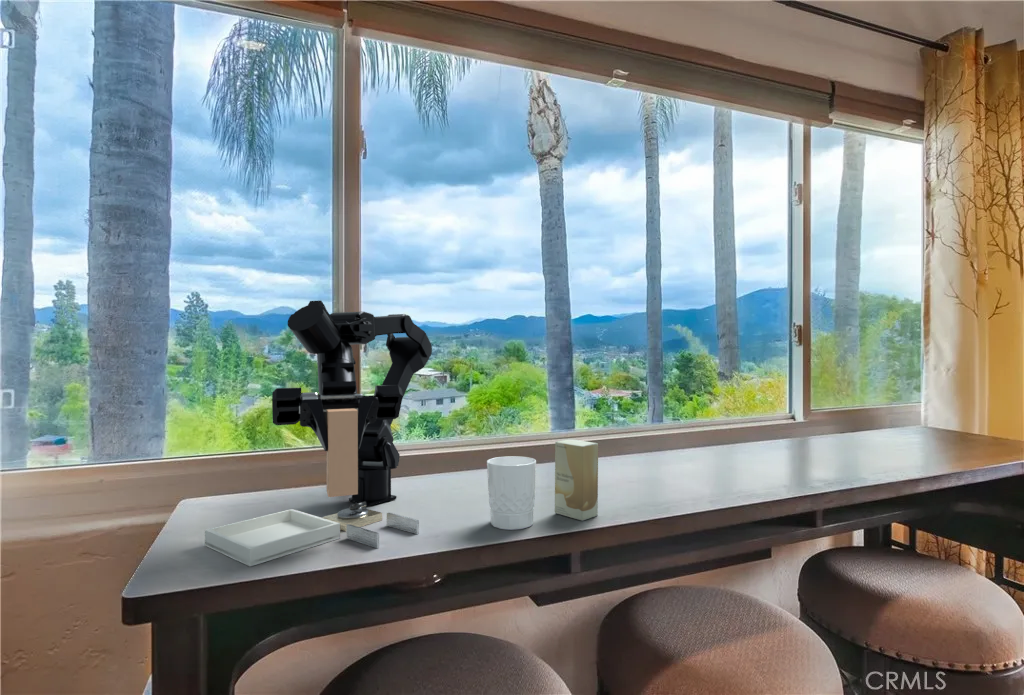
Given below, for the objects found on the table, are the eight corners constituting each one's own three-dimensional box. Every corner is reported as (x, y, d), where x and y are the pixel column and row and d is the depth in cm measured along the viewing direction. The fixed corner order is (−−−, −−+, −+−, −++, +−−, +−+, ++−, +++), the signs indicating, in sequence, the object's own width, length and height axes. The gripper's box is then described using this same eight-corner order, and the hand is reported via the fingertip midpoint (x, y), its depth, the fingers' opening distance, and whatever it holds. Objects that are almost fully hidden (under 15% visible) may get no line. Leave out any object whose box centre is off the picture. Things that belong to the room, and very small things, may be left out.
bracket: (359, 514, 89) (359, 494, 89) (424, 531, 80) (424, 509, 80) (312, 527, 82) (312, 506, 82) (376, 548, 73) (376, 524, 73)
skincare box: (553, 513, 88) (552, 441, 89) (570, 508, 91) (569, 438, 92) (584, 521, 84) (582, 445, 84) (600, 516, 87) (599, 442, 87)
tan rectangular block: (326, 491, 77) (326, 409, 77) (354, 488, 79) (354, 408, 79) (328, 497, 73) (328, 411, 74) (357, 494, 75) (357, 410, 75)
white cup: (547, 523, 83) (546, 460, 83) (511, 535, 78) (510, 467, 78) (512, 513, 89) (511, 454, 89) (477, 523, 83) (476, 460, 84)
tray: (291, 522, 85) (291, 508, 85) (340, 538, 77) (340, 523, 77) (204, 545, 74) (204, 530, 75) (250, 566, 66) (250, 549, 67)
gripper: (388, 401, 94) (400, 474, 84) (274, 405, 87) (272, 486, 76) (396, 356, 87) (410, 431, 77) (273, 357, 80) (270, 439, 69)
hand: (342, 448), depth 75 cm, fingers closed on tan rectangular block, 4 cm apart
